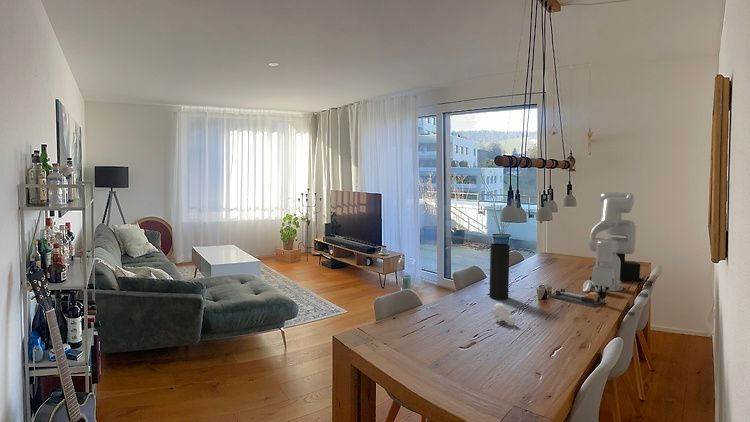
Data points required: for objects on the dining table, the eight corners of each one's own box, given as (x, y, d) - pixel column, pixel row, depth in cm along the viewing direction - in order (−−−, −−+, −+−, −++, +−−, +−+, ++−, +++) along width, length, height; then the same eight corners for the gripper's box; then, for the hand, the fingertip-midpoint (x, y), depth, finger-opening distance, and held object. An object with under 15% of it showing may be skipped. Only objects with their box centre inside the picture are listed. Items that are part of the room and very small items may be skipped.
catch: (588, 298, 249) (588, 291, 248) (597, 300, 245) (598, 292, 244) (584, 299, 246) (584, 292, 245) (593, 301, 242) (593, 294, 241)
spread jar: (610, 293, 264) (611, 274, 263) (595, 295, 260) (596, 275, 259) (593, 289, 275) (594, 270, 274) (579, 290, 271) (579, 271, 270)
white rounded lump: (500, 301, 217) (520, 309, 207) (498, 317, 219) (518, 327, 209) (491, 302, 214) (510, 311, 204) (489, 320, 215) (509, 329, 205)
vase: (508, 300, 250) (510, 246, 247) (489, 299, 252) (491, 245, 250) (507, 295, 260) (508, 243, 258) (489, 294, 262) (490, 243, 260)
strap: (561, 292, 260) (561, 290, 260) (586, 297, 249) (586, 295, 249) (557, 293, 258) (557, 291, 258) (582, 298, 247) (582, 296, 247)
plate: (563, 293, 265) (563, 287, 265) (605, 302, 246) (605, 296, 246) (550, 297, 256) (550, 291, 256) (592, 307, 237) (592, 300, 237)
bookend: (636, 278, 305) (638, 243, 303) (643, 281, 294) (644, 245, 292) (599, 276, 309) (600, 242, 307) (604, 280, 298) (606, 244, 296)
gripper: (586, 262, 242) (584, 296, 244) (615, 267, 231) (613, 302, 232) (592, 261, 247) (591, 294, 248) (621, 265, 235) (620, 300, 237)
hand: (602, 298), depth 240 cm, fingers closed
